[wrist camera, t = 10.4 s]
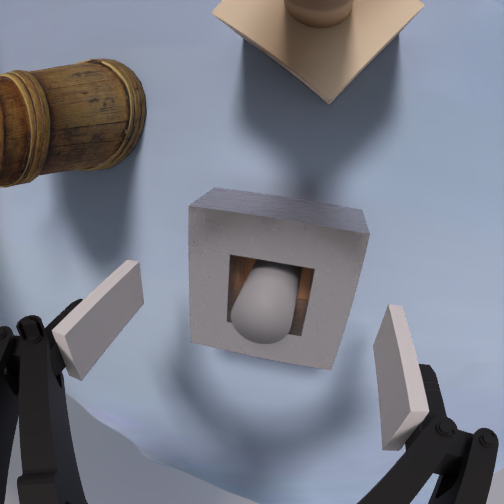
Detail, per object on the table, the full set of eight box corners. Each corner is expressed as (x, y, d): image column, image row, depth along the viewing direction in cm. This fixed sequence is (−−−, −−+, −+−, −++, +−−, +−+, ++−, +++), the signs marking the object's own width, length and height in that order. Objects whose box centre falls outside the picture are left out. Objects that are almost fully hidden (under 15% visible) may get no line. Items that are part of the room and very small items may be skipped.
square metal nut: (211, 308, 24) (191, 341, 20) (214, 187, 20) (188, 205, 16) (332, 331, 22) (331, 370, 18) (361, 209, 18) (369, 233, 15)
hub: (214, 252, 24) (167, 313, 17) (278, 181, 21) (250, 220, 13) (286, 313, 25) (267, 389, 18) (356, 253, 21) (366, 323, 14)
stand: (242, 38, 17) (161, -21, 7) (311, -32, 14) (290, -134, 4) (329, 104, 18) (332, 92, 8) (399, 32, 15) (462, -34, 5)
